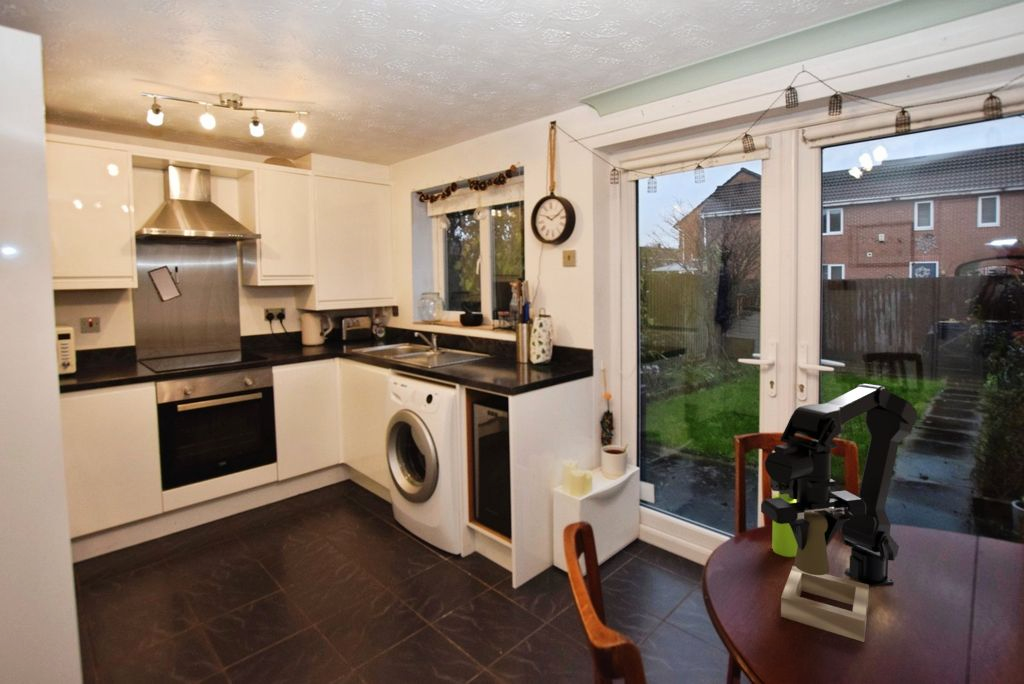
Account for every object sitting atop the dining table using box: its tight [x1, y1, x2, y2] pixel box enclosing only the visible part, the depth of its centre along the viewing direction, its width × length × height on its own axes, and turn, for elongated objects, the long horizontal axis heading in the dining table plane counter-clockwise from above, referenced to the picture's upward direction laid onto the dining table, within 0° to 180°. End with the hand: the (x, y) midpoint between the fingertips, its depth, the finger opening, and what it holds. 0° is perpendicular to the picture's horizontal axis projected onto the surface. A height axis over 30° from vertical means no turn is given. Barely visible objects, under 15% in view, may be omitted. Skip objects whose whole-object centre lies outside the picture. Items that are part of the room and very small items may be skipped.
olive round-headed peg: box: [794, 511, 830, 575], centre depth 105 cm, size 6×6×11 cm
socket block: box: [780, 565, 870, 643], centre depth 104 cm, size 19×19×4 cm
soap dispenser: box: [771, 492, 798, 558], centre depth 126 cm, size 6×7×20 cm
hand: (812, 547), depth 105 cm, fingers closed on olive round-headed peg, 4 cm apart
